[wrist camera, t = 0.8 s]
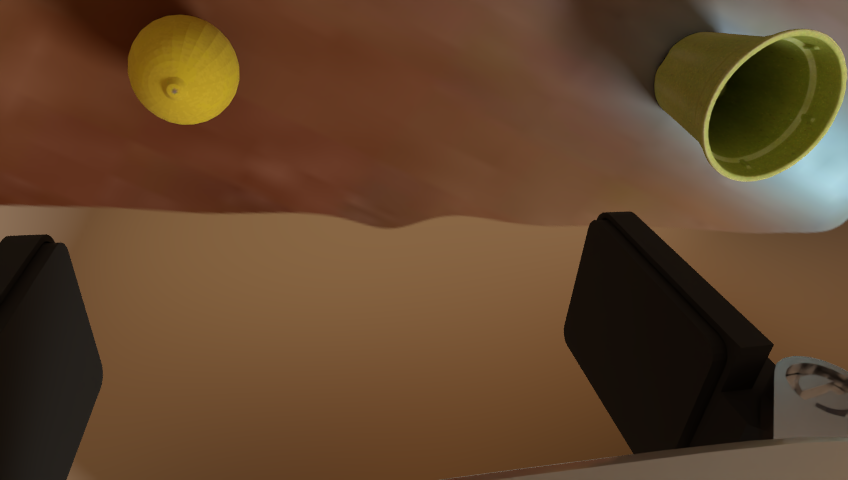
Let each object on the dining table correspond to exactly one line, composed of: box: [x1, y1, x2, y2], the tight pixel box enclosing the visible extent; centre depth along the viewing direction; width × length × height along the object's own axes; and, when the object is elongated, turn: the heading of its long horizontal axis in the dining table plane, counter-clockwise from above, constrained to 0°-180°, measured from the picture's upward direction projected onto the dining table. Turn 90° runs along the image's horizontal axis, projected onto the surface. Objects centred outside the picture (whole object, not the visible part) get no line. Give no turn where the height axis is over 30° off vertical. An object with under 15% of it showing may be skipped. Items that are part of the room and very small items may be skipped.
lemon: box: [128, 15, 239, 124], centre depth 31 cm, size 6×6×8 cm
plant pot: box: [654, 29, 847, 182], centre depth 38 cm, size 9×9×9 cm
